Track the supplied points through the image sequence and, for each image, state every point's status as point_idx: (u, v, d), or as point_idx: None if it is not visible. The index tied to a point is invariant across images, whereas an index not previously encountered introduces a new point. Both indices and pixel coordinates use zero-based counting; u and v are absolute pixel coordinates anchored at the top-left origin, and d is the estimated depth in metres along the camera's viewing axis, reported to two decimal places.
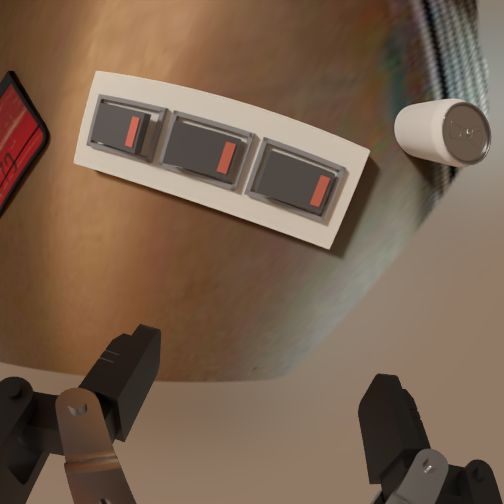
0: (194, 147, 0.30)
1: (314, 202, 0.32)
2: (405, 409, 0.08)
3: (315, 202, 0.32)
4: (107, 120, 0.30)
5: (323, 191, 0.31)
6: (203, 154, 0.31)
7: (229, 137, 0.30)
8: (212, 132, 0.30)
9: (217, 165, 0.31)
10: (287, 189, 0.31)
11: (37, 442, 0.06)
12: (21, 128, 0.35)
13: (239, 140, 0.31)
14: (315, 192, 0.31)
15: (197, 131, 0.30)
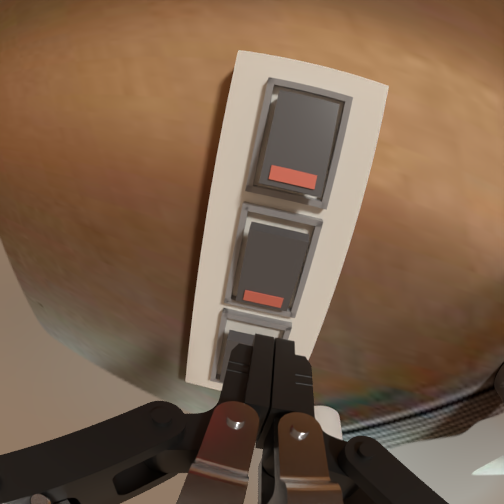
0: (272, 266, 0.24)
1: None
2: (290, 371, 0.09)
3: None
4: (310, 123, 0.21)
5: None
6: (264, 276, 0.25)
7: (288, 300, 0.26)
8: (294, 284, 0.25)
9: (252, 290, 0.26)
10: None
11: (180, 465, 0.07)
12: None
13: (285, 309, 0.27)
14: None
15: (295, 269, 0.24)
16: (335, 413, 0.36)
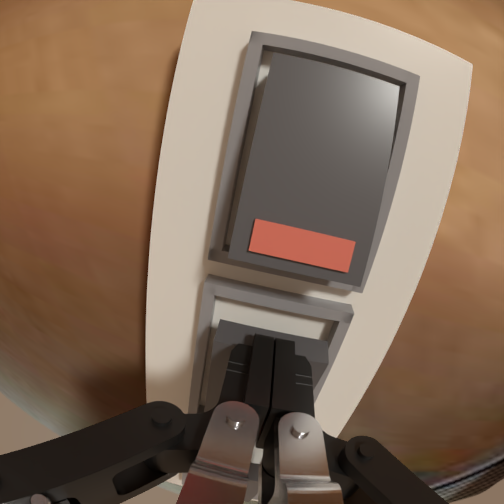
0: None
1: None
2: (290, 372, 0.09)
3: None
4: (342, 123, 0.09)
5: None
6: None
7: None
8: None
9: None
10: None
11: (180, 465, 0.07)
12: None
13: None
14: None
15: None
16: None
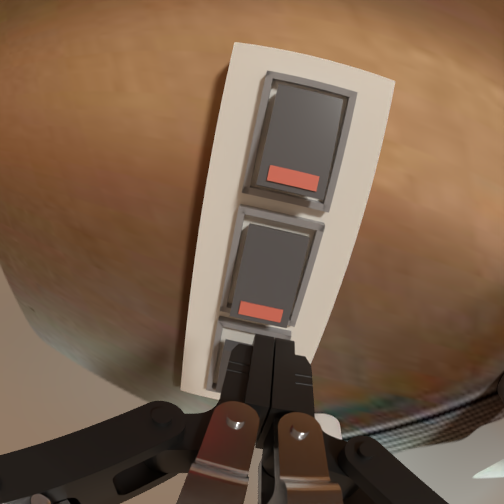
0: (271, 268, 0.23)
1: None
2: (290, 372, 0.09)
3: None
4: (312, 120, 0.19)
5: None
6: (263, 281, 0.23)
7: (288, 313, 0.23)
8: (294, 291, 0.23)
9: (249, 301, 0.23)
10: None
11: (180, 465, 0.07)
12: None
13: (285, 325, 0.24)
14: None
15: (295, 271, 0.23)
16: (335, 421, 0.34)
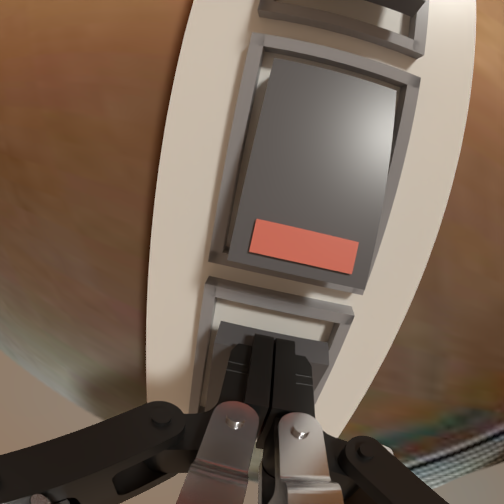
0: (327, 142, 0.09)
1: None
2: (290, 372, 0.09)
3: None
4: None
5: None
6: (309, 171, 0.09)
7: (369, 251, 0.10)
8: (380, 196, 0.09)
9: (276, 219, 0.10)
10: None
11: (180, 465, 0.07)
12: None
13: (362, 283, 0.10)
14: None
15: (379, 151, 0.09)
16: None
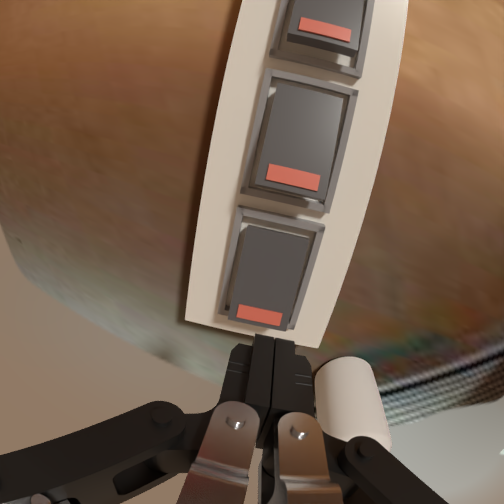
0: (304, 127, 0.19)
1: (242, 309, 0.23)
2: (290, 372, 0.09)
3: (242, 311, 0.23)
4: None
5: (259, 319, 0.23)
6: (295, 141, 0.19)
7: (326, 180, 0.19)
8: (331, 153, 0.19)
9: (278, 164, 0.19)
10: (256, 269, 0.22)
11: (180, 465, 0.07)
12: None
13: (323, 196, 0.19)
14: (256, 309, 0.23)
15: (331, 131, 0.19)
16: (369, 366, 0.30)
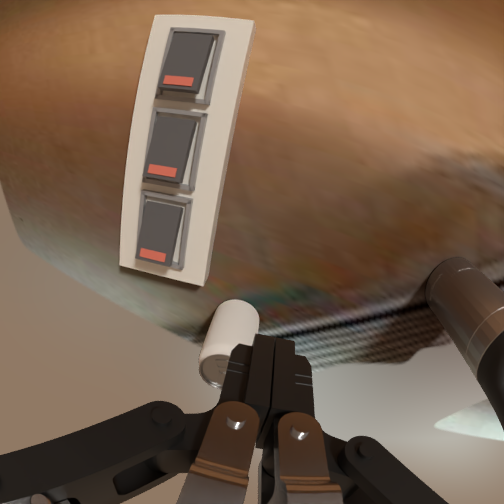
0: (170, 141, 0.32)
1: (142, 251, 0.36)
2: (290, 372, 0.09)
3: (142, 252, 0.36)
4: (192, 48, 0.28)
5: (152, 258, 0.36)
6: (164, 149, 0.32)
7: (181, 170, 0.33)
8: (184, 154, 0.32)
9: (155, 163, 0.32)
10: (151, 226, 0.36)
11: (180, 465, 0.07)
12: None
13: (178, 180, 0.33)
14: (151, 251, 0.36)
15: (185, 141, 0.32)
16: (252, 308, 0.43)
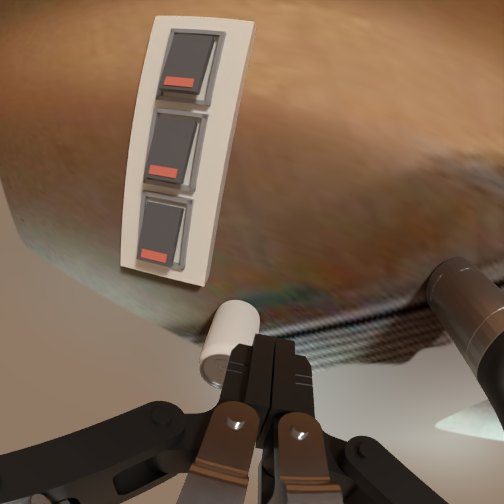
0: (171, 142, 0.32)
1: (144, 252, 0.36)
2: (290, 372, 0.09)
3: (144, 253, 0.36)
4: (192, 49, 0.29)
5: (153, 258, 0.36)
6: (165, 150, 0.33)
7: (181, 171, 0.33)
8: (185, 155, 0.33)
9: (155, 164, 0.33)
10: (152, 226, 0.36)
11: (180, 465, 0.07)
12: None
13: (179, 181, 0.33)
14: (152, 251, 0.36)
15: (186, 142, 0.32)
16: (252, 308, 0.43)
